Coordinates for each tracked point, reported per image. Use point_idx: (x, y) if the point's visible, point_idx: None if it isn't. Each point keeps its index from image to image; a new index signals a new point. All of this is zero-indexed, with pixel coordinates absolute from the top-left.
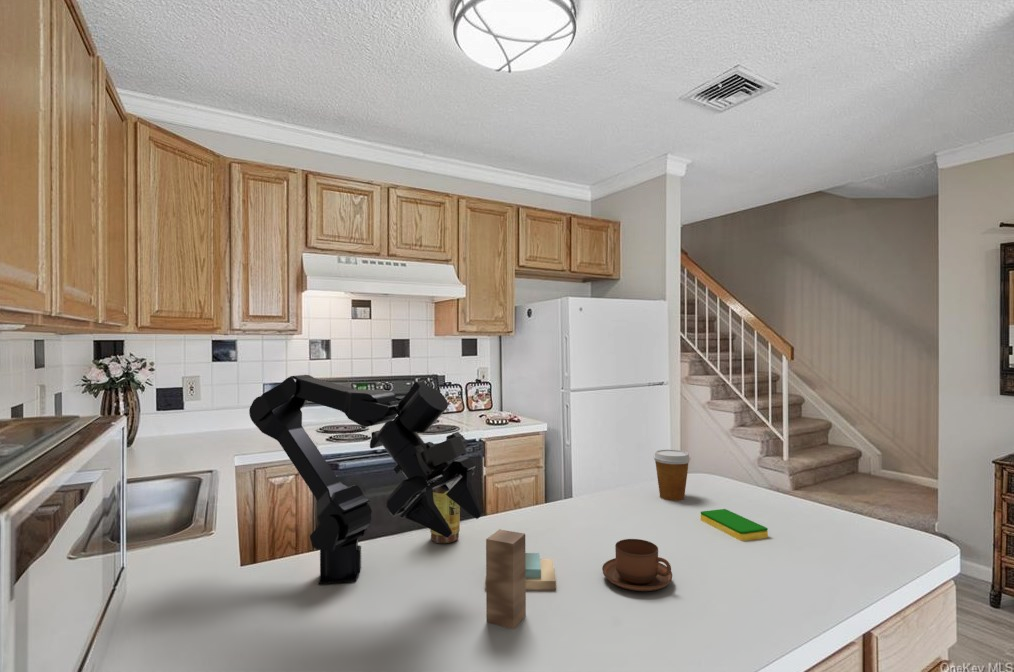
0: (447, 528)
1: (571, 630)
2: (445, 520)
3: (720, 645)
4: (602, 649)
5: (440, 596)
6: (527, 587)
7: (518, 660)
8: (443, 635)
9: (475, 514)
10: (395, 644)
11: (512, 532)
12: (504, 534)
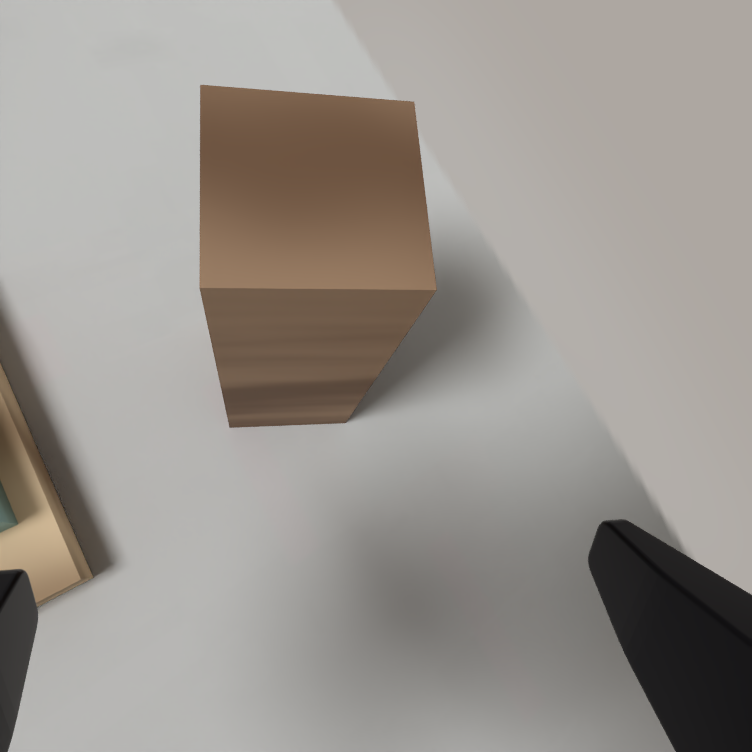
0: (670, 548)
1: None
2: (700, 600)
3: None
4: (307, 64)
5: (256, 738)
6: (10, 393)
7: (473, 241)
8: (494, 512)
9: (15, 646)
10: None
11: (220, 171)
12: (287, 209)
